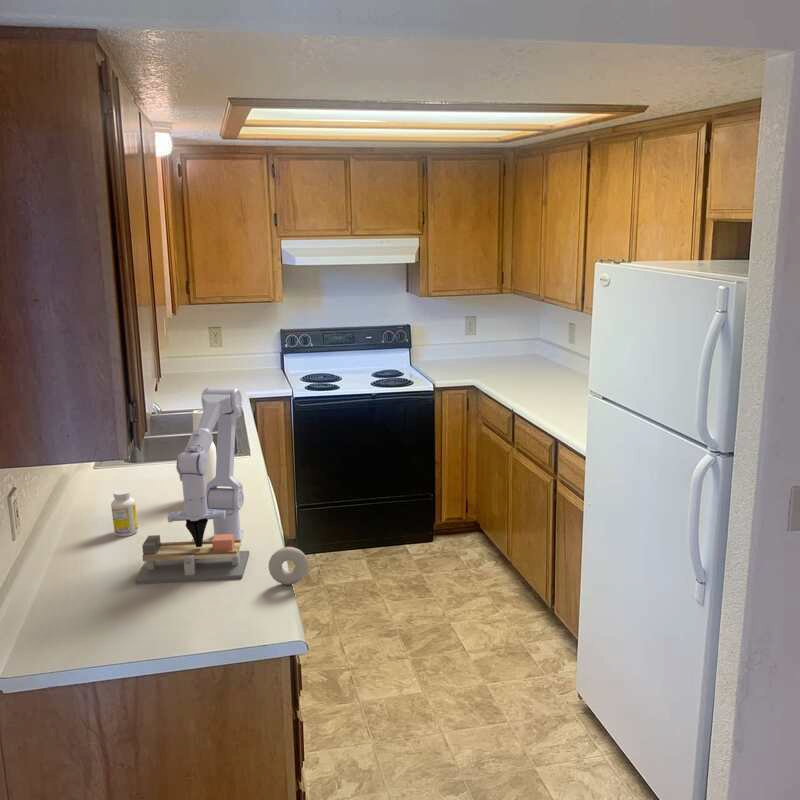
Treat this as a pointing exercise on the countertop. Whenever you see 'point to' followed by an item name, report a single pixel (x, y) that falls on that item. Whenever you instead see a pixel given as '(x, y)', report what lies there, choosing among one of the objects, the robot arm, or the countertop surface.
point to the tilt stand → (193, 569)
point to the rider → (223, 542)
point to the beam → (183, 550)
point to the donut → (290, 555)
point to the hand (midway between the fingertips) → (199, 545)
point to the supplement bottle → (124, 513)
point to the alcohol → (211, 466)
